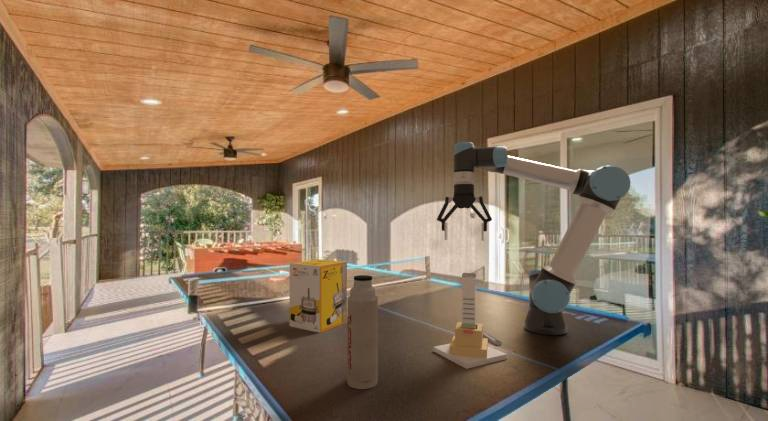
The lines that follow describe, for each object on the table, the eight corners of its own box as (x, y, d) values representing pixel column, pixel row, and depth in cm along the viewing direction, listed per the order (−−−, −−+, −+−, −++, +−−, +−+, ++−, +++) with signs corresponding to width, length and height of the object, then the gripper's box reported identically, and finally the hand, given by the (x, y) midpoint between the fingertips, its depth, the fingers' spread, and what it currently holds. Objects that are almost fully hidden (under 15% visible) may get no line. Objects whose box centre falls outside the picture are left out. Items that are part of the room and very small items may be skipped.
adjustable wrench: (503, 346, 129) (503, 341, 129) (485, 347, 128) (485, 342, 128) (475, 325, 154) (475, 320, 154) (460, 325, 153) (460, 321, 153)
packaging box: (346, 322, 156) (347, 261, 157) (320, 333, 143) (320, 266, 143) (317, 317, 165) (317, 259, 165) (289, 326, 151) (289, 263, 152)
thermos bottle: (347, 389, 96) (347, 278, 96) (347, 376, 104) (347, 273, 104) (378, 388, 97) (378, 278, 97) (376, 375, 105) (376, 273, 105)
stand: (506, 346, 128) (506, 319, 128) (507, 373, 106) (507, 341, 106) (438, 340, 134) (438, 314, 134) (427, 364, 113) (427, 333, 113)
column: (476, 328, 122) (476, 273, 122) (475, 332, 117) (475, 275, 118) (463, 327, 123) (462, 272, 123) (461, 331, 119) (461, 274, 119)
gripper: (429, 183, 144) (429, 240, 144) (498, 182, 137) (498, 241, 137) (432, 185, 151) (432, 238, 151) (498, 183, 144) (498, 240, 144)
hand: (464, 240), depth 144 cm, fingers open, 13 cm apart
